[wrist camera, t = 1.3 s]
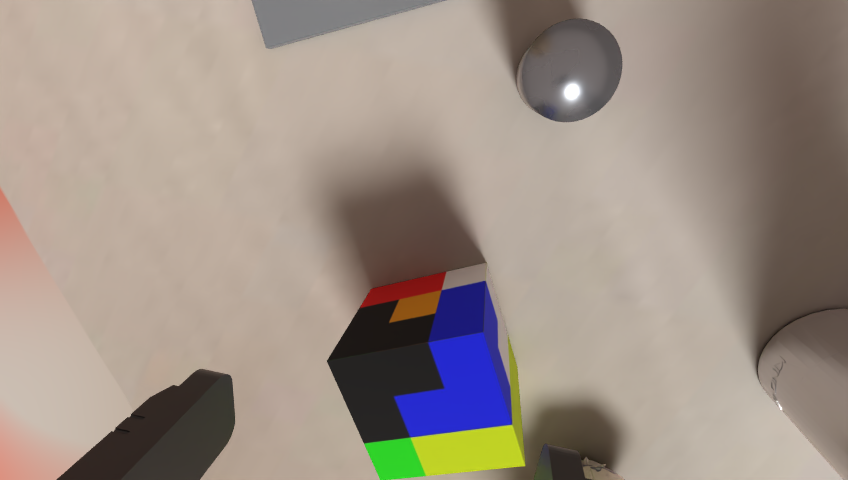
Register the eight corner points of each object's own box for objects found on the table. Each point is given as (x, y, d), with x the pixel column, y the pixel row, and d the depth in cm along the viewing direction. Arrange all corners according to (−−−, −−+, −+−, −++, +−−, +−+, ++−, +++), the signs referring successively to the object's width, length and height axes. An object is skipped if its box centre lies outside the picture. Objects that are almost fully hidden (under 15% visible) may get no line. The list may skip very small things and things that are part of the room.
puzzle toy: (486, 262, 32) (483, 331, 23) (517, 366, 35) (525, 466, 26) (371, 288, 35) (326, 361, 26) (408, 384, 38) (380, 480, 28)
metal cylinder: (592, 24, 26) (619, 6, 20) (598, 106, 27) (625, 111, 22) (511, 44, 27) (515, 32, 21) (521, 122, 28) (528, 130, 23)
